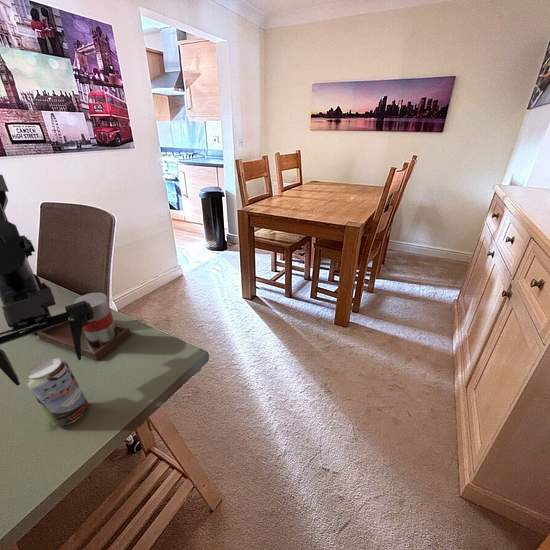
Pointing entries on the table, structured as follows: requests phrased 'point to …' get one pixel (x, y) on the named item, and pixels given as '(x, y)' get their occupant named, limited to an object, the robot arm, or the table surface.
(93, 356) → the drinks tray
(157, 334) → the table surface
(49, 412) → the beverage can
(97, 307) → the can
